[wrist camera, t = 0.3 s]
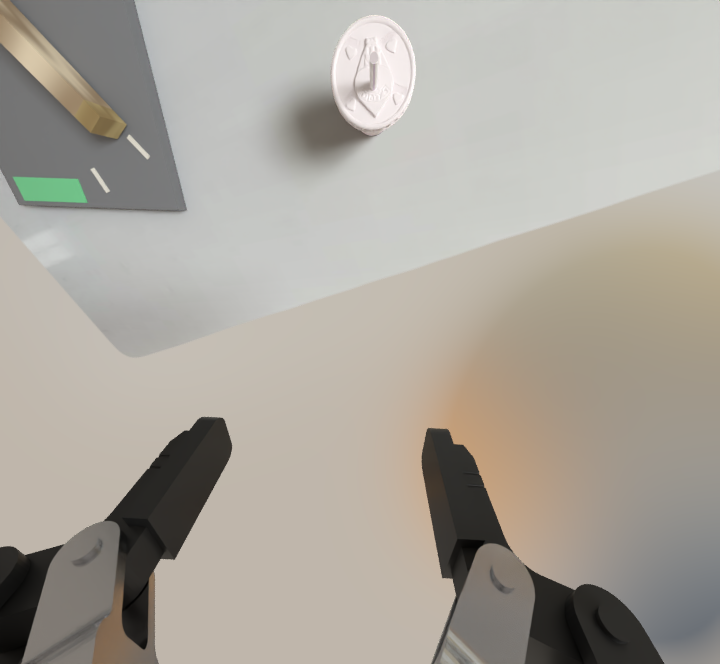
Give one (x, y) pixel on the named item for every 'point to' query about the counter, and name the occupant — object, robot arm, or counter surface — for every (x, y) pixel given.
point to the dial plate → (66, 134)
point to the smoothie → (373, 74)
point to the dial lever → (56, 73)
